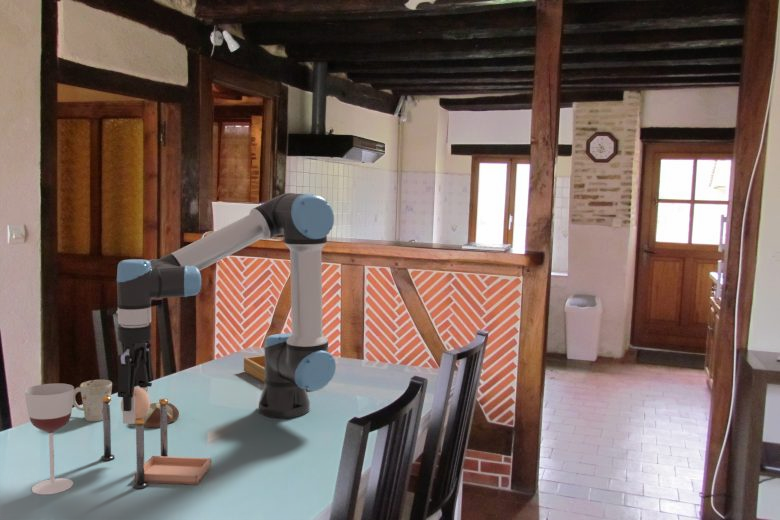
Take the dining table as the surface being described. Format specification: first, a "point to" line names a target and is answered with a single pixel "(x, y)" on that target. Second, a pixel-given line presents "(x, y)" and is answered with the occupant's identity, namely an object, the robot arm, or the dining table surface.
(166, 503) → the dining table surface
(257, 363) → the tray
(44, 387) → the wineglass
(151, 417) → the bread
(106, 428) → the pole
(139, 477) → the pole
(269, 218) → the robot arm
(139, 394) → the egg
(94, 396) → the mug
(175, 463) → the tray
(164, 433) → the pole corner
